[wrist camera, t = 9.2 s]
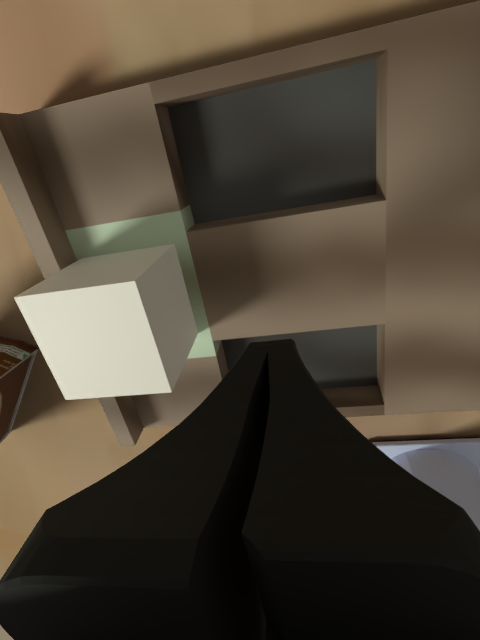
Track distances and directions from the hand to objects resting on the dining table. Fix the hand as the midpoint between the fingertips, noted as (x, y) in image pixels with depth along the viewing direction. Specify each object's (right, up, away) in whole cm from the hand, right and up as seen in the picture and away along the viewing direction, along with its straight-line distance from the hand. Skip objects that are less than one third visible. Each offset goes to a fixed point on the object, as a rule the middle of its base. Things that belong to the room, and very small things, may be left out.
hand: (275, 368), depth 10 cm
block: (-6, +3, +8) cm, 10 cm away
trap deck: (+3, +4, +8) cm, 10 cm away
